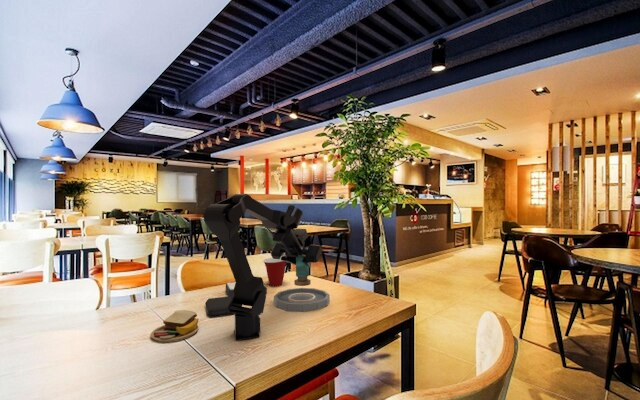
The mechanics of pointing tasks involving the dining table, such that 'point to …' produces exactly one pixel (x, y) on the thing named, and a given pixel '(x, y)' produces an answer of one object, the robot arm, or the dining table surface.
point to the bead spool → (301, 272)
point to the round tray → (301, 299)
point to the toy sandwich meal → (177, 327)
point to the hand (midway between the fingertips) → (304, 265)
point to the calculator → (230, 289)
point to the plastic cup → (275, 271)
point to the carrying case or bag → (218, 306)
